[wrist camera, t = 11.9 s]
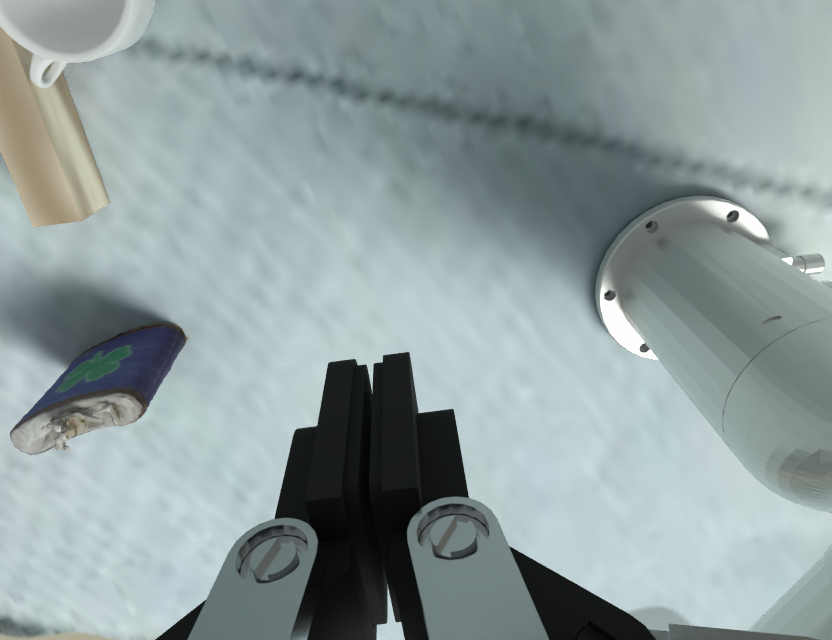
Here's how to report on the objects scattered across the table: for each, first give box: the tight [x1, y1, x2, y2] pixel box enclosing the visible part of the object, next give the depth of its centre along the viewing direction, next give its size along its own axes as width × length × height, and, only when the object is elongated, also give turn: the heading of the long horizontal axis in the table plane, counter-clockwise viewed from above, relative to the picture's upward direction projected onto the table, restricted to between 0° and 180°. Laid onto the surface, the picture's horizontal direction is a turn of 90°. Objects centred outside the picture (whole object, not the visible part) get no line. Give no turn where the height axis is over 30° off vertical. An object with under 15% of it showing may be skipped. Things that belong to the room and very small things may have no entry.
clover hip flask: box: [10, 323, 188, 455], centre depth 39 cm, size 9×3×11 cm, turn 110°
